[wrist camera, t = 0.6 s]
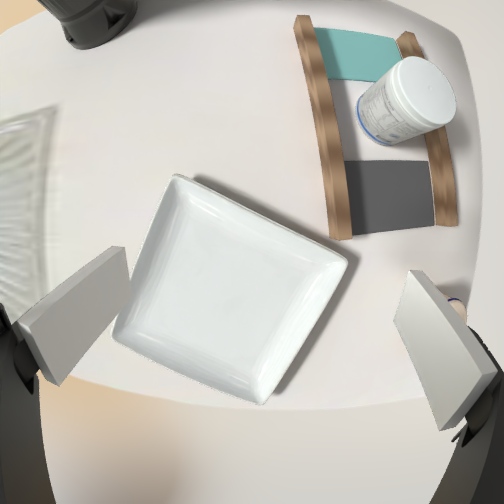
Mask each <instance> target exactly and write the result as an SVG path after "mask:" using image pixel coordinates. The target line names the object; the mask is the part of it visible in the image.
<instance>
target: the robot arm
mask: <svg viewBox="0 0 504 504" xmlns="http://www.w3.org/2000/svg"><path fill="white" fill-rule="evenodd" d="M37 1H38V2H39V3H41V4H42V5H43V6H44V7H45V8H46V9H47V10H48V11H49V12H50V13H51V14H53V15H54V16H55V17H56V18H57V19H58V20H59V21H60V22H61V25H62V28H63V31H64V34H65V37H66V40H67V41H68V42H69V43H70V44H71V45H72V46H73V47H74V48H76V49H81V50H84V49H90V48H93V47H96V46H99V45H101V44H103V43H105V42H107V41H108V40H110V39H111V38H113V37H114V36H116V35H117V34H118V33H119V32H121V31H122V30H123V29H124V28H125V27H126V26H127V25H128V24H129V22H130V21H131V20H132V18H133V17H134V15H135V13H136V10H137V3H136V1H135V0H37ZM132 297H133V295H132V290H131V284H130V279H129V273H128V267H127V260H126V253H125V247H117V246H111V247H110V248H109V249H107V250H106V251H104V252H103V253H102V254H100V255H99V256H97V257H96V258H95V259H93V260H92V261H90V262H89V263H88V264H86V265H85V266H84V267H82V268H81V269H80V270H78V271H77V272H76V273H74V274H73V275H72V276H70V277H69V278H68V279H67V280H65V281H64V282H63V283H61V284H60V285H59V286H58V287H56V288H55V289H54V290H53V291H51V292H50V293H49V294H47V295H46V296H45V297H44V298H42V299H41V300H40V301H39V302H38V303H36V304H35V305H34V306H33V307H32V308H30V309H29V310H28V311H27V312H26V313H25V314H24V315H22V316H21V317H20V318H19V319H18V320H17V321H16V322H14V323H13V324H12V325H11V323H10V321H9V318H8V316H7V314H6V311H5V309H4V306H3V305H2V303H0V504H56V502H55V498H54V495H53V491H52V487H51V483H50V478H49V474H48V469H47V464H46V458H45V452H44V445H43V437H42V428H41V419H40V402H39V379H38V376H37V375H36V372H37V371H38V370H39V369H40V370H41V372H42V374H43V375H44V377H45V379H46V380H47V381H49V382H51V383H53V384H55V385H57V386H60V385H61V384H62V382H63V381H64V379H65V378H66V377H67V376H68V374H69V373H70V372H71V371H72V369H73V368H74V367H75V365H76V364H77V363H78V362H79V360H80V359H81V358H82V357H83V355H84V354H85V353H86V352H87V350H88V349H89V348H90V347H91V346H92V344H93V343H94V342H95V341H96V339H97V338H98V337H99V336H100V335H101V333H102V332H103V331H104V330H105V329H106V327H107V326H108V325H109V324H110V323H111V322H112V320H113V319H114V318H115V317H116V316H117V315H118V313H119V312H120V311H121V310H122V309H123V308H124V307H125V305H126V304H127V303H128V302H129V301H130V300H131V299H132ZM393 321H394V323H395V325H396V327H397V329H398V331H399V333H400V336H401V338H402V340H403V342H404V344H405V346H406V349H407V351H408V353H409V355H410V358H411V360H412V362H413V364H414V367H415V369H416V371H417V374H418V376H419V379H420V381H421V383H422V386H423V388H424V391H425V394H426V396H427V399H428V401H429V404H430V407H431V409H432V412H433V415H434V417H435V421H436V423H437V426H438V429H439V431H442V430H446V429H449V428H454V427H456V425H457V424H458V423H459V422H460V421H461V420H462V419H463V417H464V416H465V418H466V420H467V423H466V425H465V426H464V427H463V428H462V429H461V430H460V431H459V432H458V433H457V435H456V436H455V437H454V438H453V439H452V441H451V442H454V441H455V440H456V439H457V438H458V437H459V440H458V442H457V445H456V448H455V450H454V453H453V456H452V458H451V461H450V463H449V465H448V467H447V469H446V472H445V474H444V476H443V478H442V480H441V482H440V484H439V486H438V488H437V490H436V492H435V494H434V496H433V498H432V499H431V501H430V503H429V504H504V372H503V371H502V369H501V367H500V366H499V364H498V363H497V361H496V360H495V358H494V357H493V355H492V354H491V352H490V351H489V350H488V348H487V346H486V345H485V344H483V341H482V339H481V338H480V337H479V335H478V334H477V333H476V332H475V331H474V330H473V329H471V328H470V327H469V326H467V325H466V324H465V322H464V321H463V320H462V318H461V317H460V316H459V314H458V313H457V312H456V310H455V309H454V308H453V307H452V305H451V304H450V303H449V302H448V300H447V299H446V298H445V297H444V296H443V294H442V293H441V292H440V291H439V290H438V288H437V287H436V286H435V285H434V284H433V282H432V281H431V280H430V279H429V278H428V277H427V276H426V274H425V273H424V272H423V271H416V270H409V272H408V275H407V279H406V282H405V286H404V289H403V292H402V296H401V299H400V302H399V305H398V308H397V311H396V314H395V317H394V320H393Z"/></svg>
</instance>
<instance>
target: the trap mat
mask: <svg viewBox="0 0 504 504" xmlns="http://www.w3.org/2000/svg"><path fill="white" fill-rule="evenodd" d="M344 167H345V174H346V181H347V189H348V198H349V207H350V217H351V228H352V235H360V234H368V233H376V232H384V231H393V230H401V229H409V228H418V227H426V226H434V213H433V201H432V190H431V182H430V174H429V167H428V161H402V160H374V161H344Z"/></svg>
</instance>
